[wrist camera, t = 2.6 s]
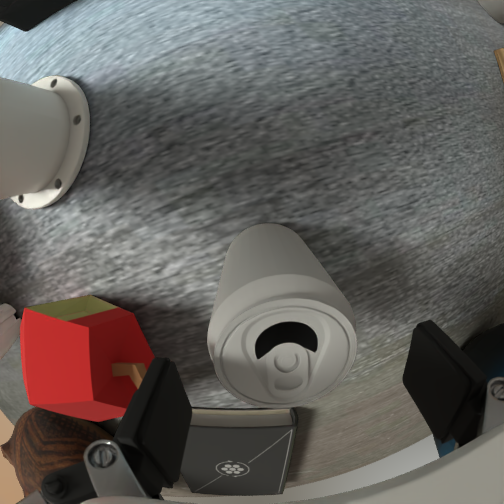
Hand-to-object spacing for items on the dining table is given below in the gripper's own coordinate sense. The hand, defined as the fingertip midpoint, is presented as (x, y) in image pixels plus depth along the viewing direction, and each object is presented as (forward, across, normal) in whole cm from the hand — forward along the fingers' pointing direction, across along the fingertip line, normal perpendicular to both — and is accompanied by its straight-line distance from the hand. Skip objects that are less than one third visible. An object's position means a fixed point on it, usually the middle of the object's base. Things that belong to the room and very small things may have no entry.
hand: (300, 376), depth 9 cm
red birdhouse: (+12, +18, +5) cm, 22 cm away
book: (+13, +8, +26) cm, 30 cm away
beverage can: (+13, +1, 0) cm, 13 cm away
